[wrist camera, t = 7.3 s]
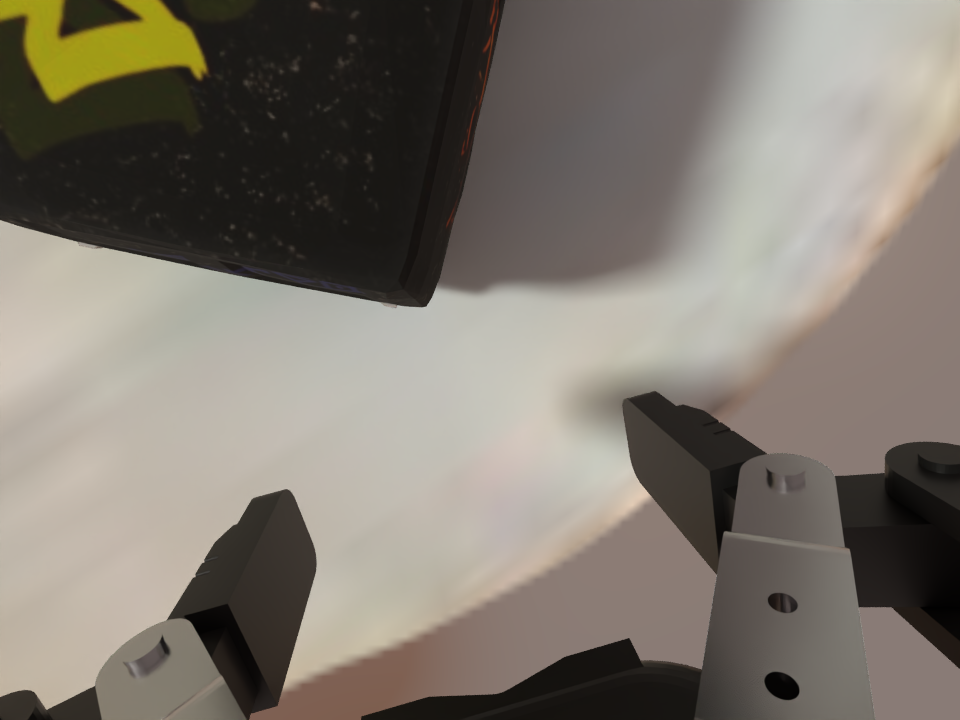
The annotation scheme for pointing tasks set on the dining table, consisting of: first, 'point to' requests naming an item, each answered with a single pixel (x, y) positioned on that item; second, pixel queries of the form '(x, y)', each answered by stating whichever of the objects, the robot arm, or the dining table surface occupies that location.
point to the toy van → (248, 133)
